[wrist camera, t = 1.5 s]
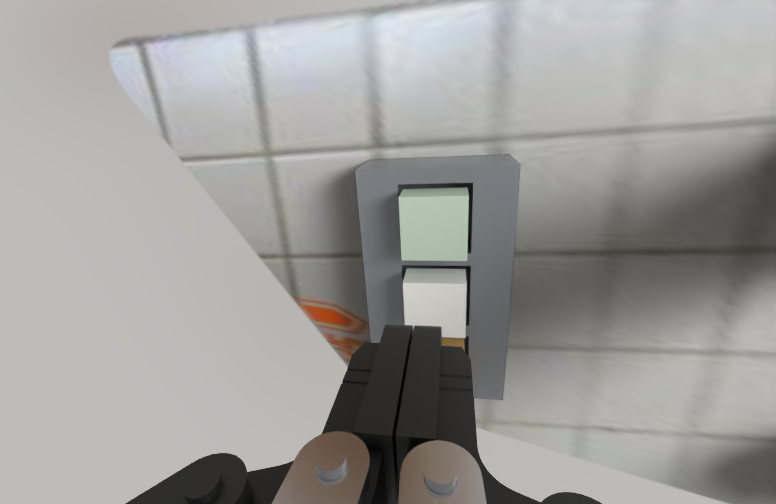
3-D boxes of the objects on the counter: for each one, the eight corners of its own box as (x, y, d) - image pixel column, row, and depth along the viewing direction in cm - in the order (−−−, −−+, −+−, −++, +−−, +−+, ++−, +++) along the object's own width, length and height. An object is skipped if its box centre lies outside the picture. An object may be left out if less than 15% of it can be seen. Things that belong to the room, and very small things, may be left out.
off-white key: (465, 268, 22) (466, 284, 20) (464, 319, 24) (465, 338, 22) (406, 268, 23) (402, 282, 21) (409, 317, 24) (405, 335, 22)
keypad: (509, 154, 23) (520, 164, 19) (496, 362, 29) (502, 400, 25) (369, 159, 24) (354, 169, 21) (384, 355, 30) (375, 390, 27)
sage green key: (467, 187, 20) (468, 195, 18) (466, 247, 22) (467, 261, 20) (403, 188, 21) (398, 197, 19) (405, 247, 22) (401, 260, 20)
